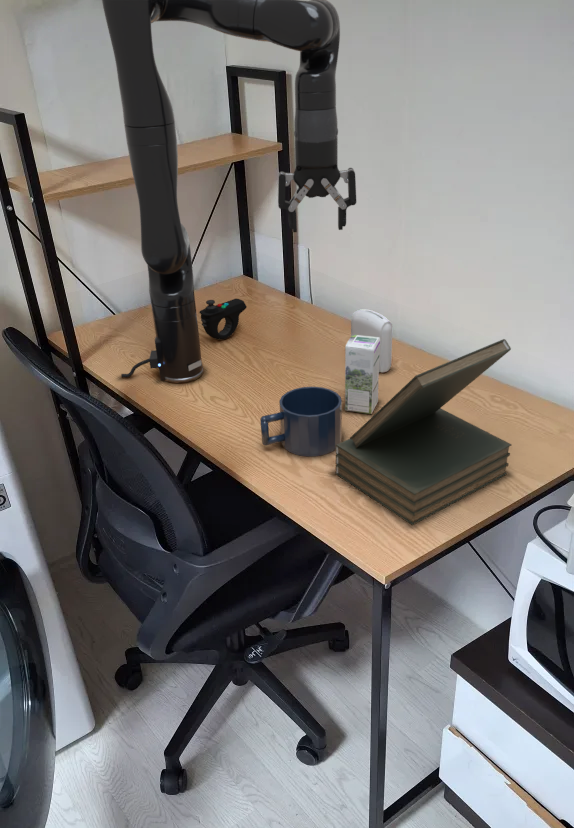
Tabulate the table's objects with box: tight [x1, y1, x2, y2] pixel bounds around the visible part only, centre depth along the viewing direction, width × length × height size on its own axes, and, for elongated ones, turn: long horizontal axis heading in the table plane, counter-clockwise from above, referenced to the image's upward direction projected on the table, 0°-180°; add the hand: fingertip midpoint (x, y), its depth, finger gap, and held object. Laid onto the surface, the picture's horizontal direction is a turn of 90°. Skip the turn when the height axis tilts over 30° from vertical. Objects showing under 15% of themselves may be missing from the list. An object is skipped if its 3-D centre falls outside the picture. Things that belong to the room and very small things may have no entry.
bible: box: [335, 338, 513, 526], centre depth 131 cm, size 23×20×25 cm
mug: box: [259, 386, 343, 457], centre depth 146 cm, size 16×11×8 cm
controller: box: [199, 298, 247, 341], centre depth 186 cm, size 4×12×10 cm, turn 133°
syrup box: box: [344, 335, 380, 415], centre depth 154 cm, size 6×6×14 cm
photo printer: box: [350, 308, 393, 374], centre depth 170 cm, size 10×4×12 cm, turn 39°
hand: (317, 230), depth 146 cm, fingers open, 8 cm apart
